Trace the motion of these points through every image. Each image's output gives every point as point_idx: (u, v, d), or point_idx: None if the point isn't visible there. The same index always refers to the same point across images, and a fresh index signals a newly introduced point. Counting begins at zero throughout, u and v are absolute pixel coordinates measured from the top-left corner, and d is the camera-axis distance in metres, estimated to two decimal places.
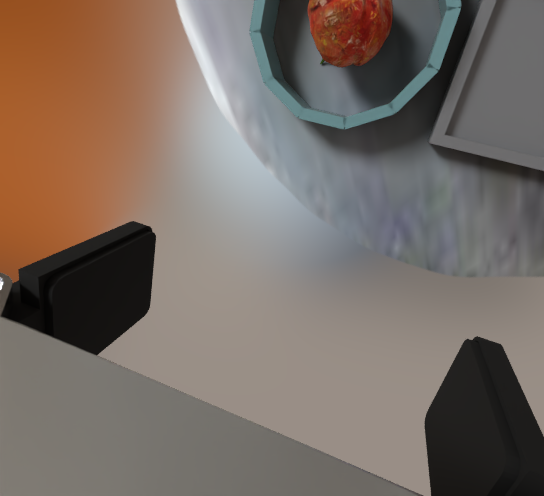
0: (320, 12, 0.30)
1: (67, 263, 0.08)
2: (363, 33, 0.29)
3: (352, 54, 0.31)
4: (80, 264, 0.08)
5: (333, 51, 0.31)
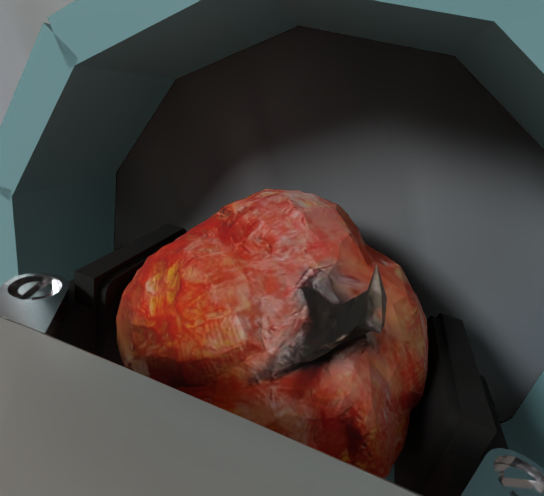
0: None
1: (116, 265, 0.08)
2: None
3: None
4: (128, 266, 0.09)
5: None
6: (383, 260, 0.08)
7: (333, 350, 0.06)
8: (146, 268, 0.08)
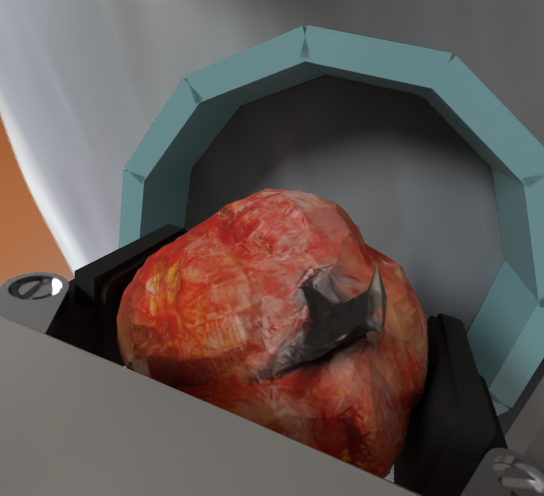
0: None
1: (117, 265, 0.08)
2: None
3: None
4: (128, 266, 0.09)
5: None
6: (383, 260, 0.08)
7: (333, 350, 0.06)
8: (147, 268, 0.08)
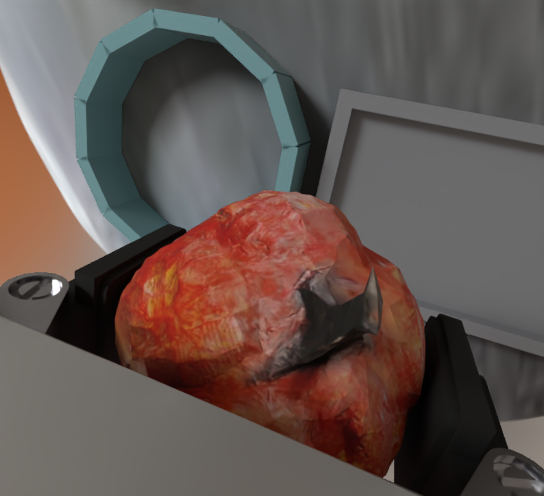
0: None
1: (116, 265, 0.08)
2: None
3: None
4: (128, 266, 0.09)
5: None
6: (381, 262, 0.08)
7: (330, 352, 0.06)
8: (144, 269, 0.08)
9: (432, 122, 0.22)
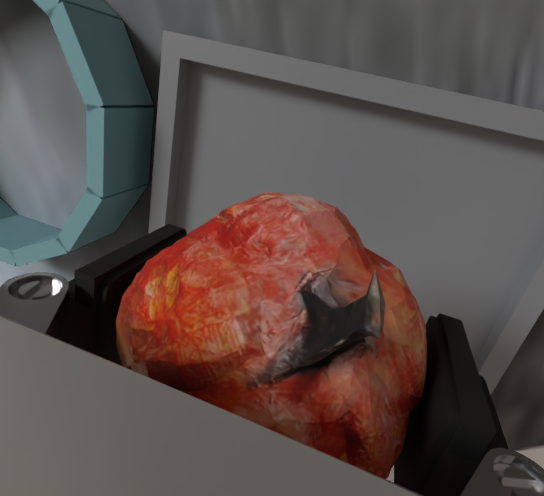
0: None
1: (117, 266, 0.08)
2: None
3: None
4: (128, 266, 0.09)
5: None
6: (382, 263, 0.08)
7: (332, 354, 0.06)
8: (146, 271, 0.08)
9: (278, 78, 0.16)
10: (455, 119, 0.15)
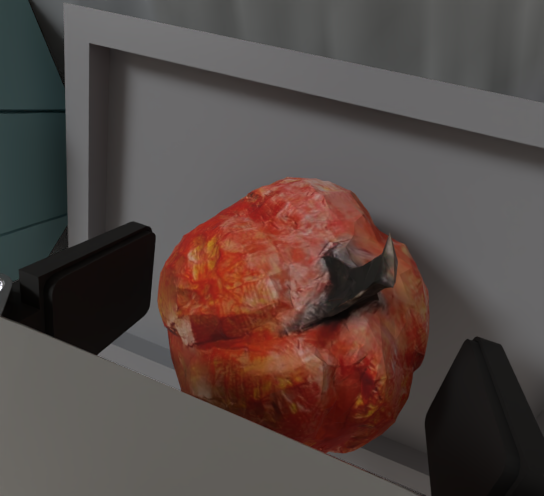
0: (180, 357, 0.08)
1: (66, 264, 0.08)
2: (329, 443, 0.08)
3: None
4: (80, 264, 0.08)
5: None
6: None
7: (350, 309, 0.07)
8: (186, 242, 0.09)
9: (224, 71, 0.11)
10: (489, 133, 0.10)
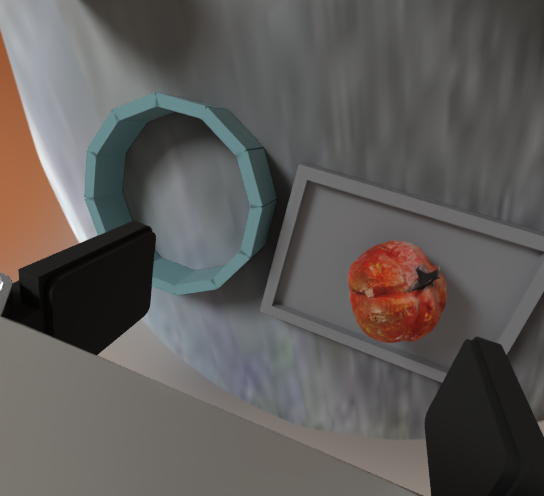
0: (365, 301, 0.26)
1: (66, 264, 0.08)
2: (414, 331, 0.25)
3: (398, 341, 0.27)
4: (80, 264, 0.08)
5: (377, 338, 0.26)
6: (433, 265, 0.27)
7: (425, 285, 0.25)
8: (365, 264, 0.26)
9: (366, 196, 0.29)
10: (468, 228, 0.27)
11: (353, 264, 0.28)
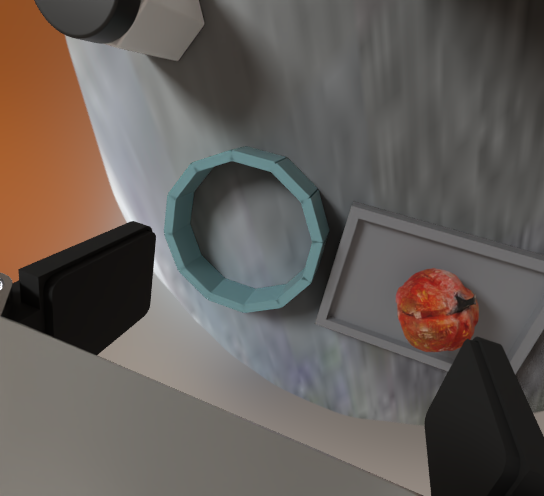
0: (413, 321, 0.32)
1: (66, 264, 0.08)
2: (454, 344, 0.32)
3: None
4: (80, 264, 0.08)
5: (423, 349, 0.33)
6: (467, 289, 0.33)
7: (463, 309, 0.31)
8: (413, 291, 0.32)
9: (409, 232, 0.35)
10: (495, 258, 0.33)
11: (401, 289, 0.34)
